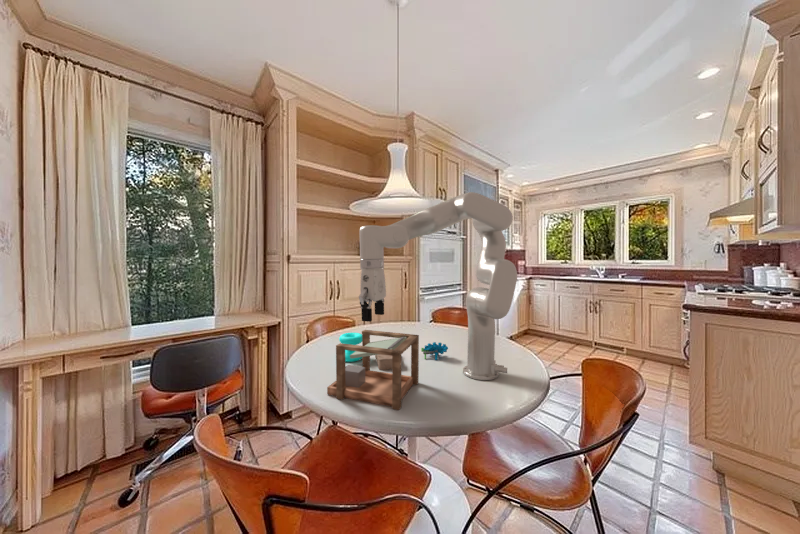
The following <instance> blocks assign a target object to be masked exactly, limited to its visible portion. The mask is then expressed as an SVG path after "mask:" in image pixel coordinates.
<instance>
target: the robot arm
mask: <svg viewBox="0 0 800 534" xmlns="http://www.w3.org/2000/svg"><path fill="white" fill-rule="evenodd" d="M470 219H471V221H472V226H473V228H474V229H475V230H476V232H477V233H478V235H479V237H480V241H481V246H480V247H481V248H480V254H479V257H478V261H477V266H476V271H475V277H476V279H477V280H478V281H479V283H481V284H484V285H486V286H487V285H488V286H489V287H488V288H487V287H482V286H478V287H474V288H472V289H470V290H469V292H467V294H466V298H465V308H466V313H467V362H466V363H467V365H466V366H464V367H463V368H462V373H463V374H464V375H465V376H466V377H468V378H470V379H474V380H478V381H492V380H496V379H498V377H499V373H503V374H508V367H505V365H504V364H503V365H502V364H501V365H500V364H498V363H496V360H495V350H496V348H495V346H496V345H495V343H496V342H495V341H496V339H495V338H496V324H495V322H496V321H495V320H500V319H501V320H502V319H503V318H506V316H507V314H509V312H510V309H511V308H512V303H513V298H514V294H515V290H516V286H517V281H518V271H517V268H516V265H515V263H513V262H512V261H511V260H509V259H505V255H506V250H507V242H506V237H505V235H504V233H503V231H506V230H507V229H509V227H510V226H511V225H512V223H513V221H514V220H513V213H512V211H511V210H510V208H509V207H507V205H504V204H502V203H500V202H498V201H496V200H494V199H492V198H490V197H487V196H485V195H483V194H481V193H478V192H475V191H474V192H473V191H470V192H466V193H463V194H460V195H456V196H454V197H451V198H449V199H447V200H444V201H442V202H440V203H438V204H435V205H432V206H430V207H428V208H424V209H423V210H420V211H419V212H417V213H415V214H413V215H411V216H408V217H406V218H404V219H403V218H402V219H401V220H399V221H397V222H396V221H395V222H394V223H392V224H388V225H383V226H382V225H377V224H376V225H363V226H360V228H359V232H358V233H359V234H358V235H359V258H360V259H359V263H360V264H359V267H360V268H359V269H360V271H361V272H360V294H359V296H358V301H359V305H360V310H361V321H362V322H366V323H367V322H369V323H370V322H372V321H373V315H372V314H373V312H372V310H373V309H372V307H371V306H372V303H373V302H374V314H375V315H377V316H383V315H384V314H385V298H386V297H387V289H386V287H387V286H386V285H387V284H386V276H385V257H384V253H385V252H384V248H386V249H400V248H404V247H405V246H407V244H408V242H409V240H414V239H415V238H418V237H421V236H422V237H423V236H428V235H432V234H435V233H438V232H440V231H443V230H444V229H447V228H450V227H451V226H453V225H456V224H457V223H461V222H462V221H465V220H470Z"/></svg>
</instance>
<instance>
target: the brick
mask: <svg viewBox="0 0 800 534" xmlns="http://www.w3.org/2000/svg"><path fill="white" fill-rule="evenodd" d="M374 356H375V361H376V363H377V367H378V369H379V371H382V370H383V371H386V370H392V356H390V355H382V354H379V355H374Z"/></svg>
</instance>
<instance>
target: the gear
mask: <svg viewBox="0 0 800 534" xmlns="http://www.w3.org/2000/svg"><path fill="white" fill-rule="evenodd" d="M420 349H421V350H420V351H421V352H422V354H423V355H424V360H427V355H431V356H433V355H434V361H438V360H439V359H438V355H439V354H440V355H443V354H444V353H447V350H448V349H449V348H448V346H447V344H446V343H442V342H438V343H437V342H436V341H433V342H432V343H430V342H429V343H427V344H426V345H424V347H421V348H420Z"/></svg>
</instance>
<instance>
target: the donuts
mask: <svg viewBox="0 0 800 534" xmlns="http://www.w3.org/2000/svg"><path fill="white" fill-rule="evenodd" d="M338 339H339V340H338V341H339V343H342V344H351V345H360V344H362V333H359V332H347V333H346V332H345V333H342V334H340V336H339V338H338ZM354 352H356V351H350V350H345V363H348V362H349V363H352V362H358V361H361V360H362V357H358V358H352V359H351V358H350V355H351V354H353V353H354Z"/></svg>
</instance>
